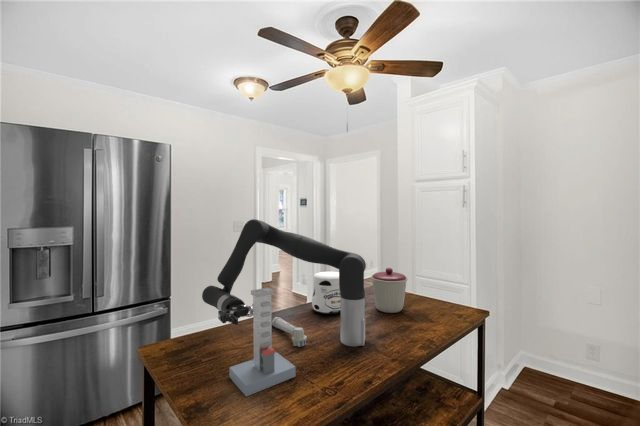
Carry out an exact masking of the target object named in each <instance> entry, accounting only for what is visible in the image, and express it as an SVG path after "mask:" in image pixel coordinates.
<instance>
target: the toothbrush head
mask: <svg viewBox="0 0 640 426" xmlns="http://www.w3.org/2000/svg"><path fill="white" fill-rule="evenodd" d="M272 326H273V327H274V328H276V329H279V330H281V331H283V332H284V333H285V332H286V333H288V334H290V335H292V336H291V340H292V346H294V347H299V348H301V347H304V346H306V345H307V335H306V334H305V330H304V328H303V327H297V326H295V325H293V324H291V323H289V322H288V321H286V320H284V319H283V318H282V317H278V316H275V317H272Z"/></svg>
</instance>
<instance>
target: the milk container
mask: <svg viewBox="0 0 640 426" xmlns="http://www.w3.org/2000/svg"><path fill="white" fill-rule="evenodd" d="M312 293H313V294H312V297H311V306H312V309H313V310H314V311H315V312H317V313H318V314H323V315H336V314H340V288H339V271H320V272H316V273H314V275H313V292H312Z"/></svg>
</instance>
